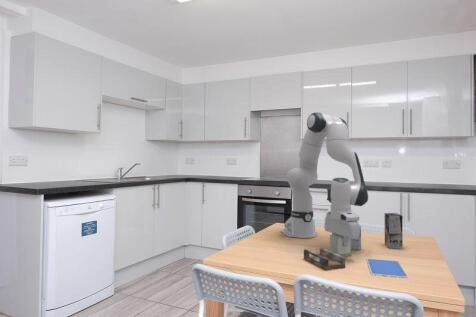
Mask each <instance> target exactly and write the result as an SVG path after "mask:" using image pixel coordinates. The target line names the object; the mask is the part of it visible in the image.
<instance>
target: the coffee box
mask: <svg viewBox="0 0 476 317" xmlns="http://www.w3.org/2000/svg"><path fill="white" fill-rule="evenodd" d="M403 217H404V216H403V215H402V214H399V213H397V212H389V213H388V212H387V213H386V212H385V213H384V245H385V246H386V247H387V248H389V249H393V250H396V249H397V250H402V249H403Z"/></svg>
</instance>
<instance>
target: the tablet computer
mask: <svg viewBox="0 0 476 317" xmlns="http://www.w3.org/2000/svg"><path fill="white" fill-rule="evenodd" d="M366 263H367V265H368V266H367V267H368V268H369V272H371V273H370V275H371V274H374V275H373V276H376V275H382V276H381V277H387V276H390V278H397V277H399V278H400V279H408V278H409V276H408V274H407V273H406V271H405V269H404V268H403V267H402V265H401V264H400V262H399V261H396V260H388V259H376V258H375V259H372V258H367V259H366Z"/></svg>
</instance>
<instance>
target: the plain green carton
mask: <svg viewBox="0 0 476 317" xmlns="http://www.w3.org/2000/svg"><path fill="white" fill-rule="evenodd" d="M344 240H345V239H344V237H343V236H340V235H337V234H334V235H332V234H330V235H329V251H331V252H333V253H335V254H338V255H340V256H343V257H345V258H346V257H351V256H352V249H351V239H350V240H349V242H348V247H344V246H343V244H342V242H344Z"/></svg>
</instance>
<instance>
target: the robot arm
mask: <svg viewBox="0 0 476 317" xmlns="http://www.w3.org/2000/svg"><path fill="white" fill-rule="evenodd" d="M306 126H307V129H306V132H305V133H304V136H303V138H302V141H301V142H302V143H301V146H300V149H299V152H298V158H299V166H298V167H294V168H291V169H290V170H289V171H288V172H287V174H286V181H287V183H288V184H289V187H290V189H291V195H292V210H291V211H290V217H289V218H288V219H287V220H285V223H284V229H280V233H283V235H285V236H287V237H288V238H299V239H310V238H315V237H316V236H317V235H318V233H317V232H316V225H315V224H316V223H315V222H316V221H315V219H314V210H313V196H312V193H311V191H310V187H309V186H312V185H314V184H315V183H316V182H317V180H318V178H319V177H318V176H319V175H318V165H319V164H318V163H319V159H320V154H321V151H322V148H323V143H324V140H325V138H326V140H325V142H326V153H327V154H328V156H329V158H331V159H332V160H334V161H336V162H338V163H339V162H340V163H341V164H344V165H346V166H348V167H350V169H351V171H352V176H353V177H352V178H353V181H354V184H351V183H350V179H348V178H345V177H336V178H332V179H331V185H329V186H328V187H327V188H326V191H327V192H326V195H327V198H326V200H327V201H328V202H329V203H330V211H328V212H327V213H326V215H325V218H324V227H323V228H324V230H325V232H328V233H331V235H334V234H337V235H340V236H343V237H344V239H345V240H344V242H342V244H343V246H344V247H348V242H349V240H350V239H358V238H359V235H360V228H359V226H360V223H359V221H360V215H358V214H357V213H355V212H354V211H353V210H352V206H355V207H362V206H364V205H366V203H368V201H369V191H368V189H367V187H366V183H365V180H364V179H365V178H364V174H363V170H362V167H361V162H360V159H359V156H358V154H357V152H355V151H353V149H352V148H351V146H350V145H351V144H350V135H349V130H348V129H349V128H348V125H347V121H345V120H344V119H343V118H341V117H338V116H335V115H332V114H327V113H321V112H312V113H310V115H308V117H307V120H306Z"/></svg>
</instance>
